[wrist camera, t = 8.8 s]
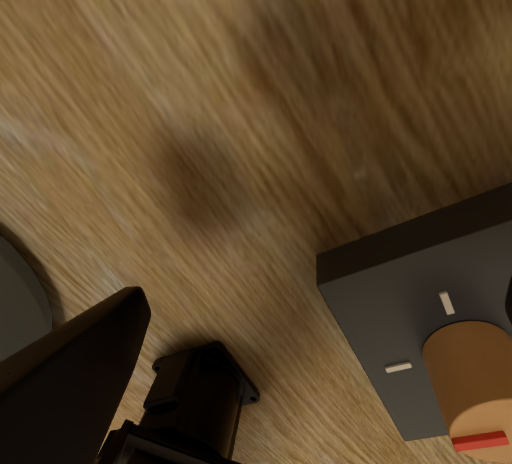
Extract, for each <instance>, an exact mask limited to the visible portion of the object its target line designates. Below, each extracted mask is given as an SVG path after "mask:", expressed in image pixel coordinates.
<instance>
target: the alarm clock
mask: <svg viewBox="0 0 512 464" xmlns="http://www.w3.org/2000/svg"><path fill="white" fill-rule="evenodd" d="M51 331H52V313H51V309H50V306H49V302H48V299H47V295H46V293H45V291H44V289H43V287H42V286H41V284H40V282H39V280H38V279H37V277H36V275H35V273H34V272H33V270H32V268H31V267H30V266H29V265H28V264H27V263H26V261H25V260H24V259H23V258H22V257H21V256H20V254H19V253H18V252H17V251H16V250H15V249H14V247H13V246H12V245H11V244H10V243H9V242H8V241H7V240H5V239H4V238H3V237H2V236H1V235H0V362H1V361H2V360H4V359H6V358H7V357H9V356H11V355H13V354H14V353H16V352H18V351H19V350H21V349H23V348H24V347H26V346H28V345H29V344H31V343H33V342H34V341H36V340H38V339H39V338H41V337H43V336H44V335H46V334H48V333H49V332H51Z"/></svg>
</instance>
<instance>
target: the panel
mask: <svg viewBox="0 0 512 464" xmlns="http://www.w3.org/2000/svg"><path fill="white" fill-rule="evenodd" d="M316 270H317V287H318V289H319V291H320V293H321V294H322V296H323V298H324V300H325V302H326V303H327V305H328V307H329V309H330V310H331V312H332V314H333V316H334V317H335V319H336V321H337V323H338V325H339V326H340V328H341V330H342V332H343V333H344V335H345V337H346V339H347V340H348V342H349V344H350V346H351V348H352V349H353V351H354V353H355V355H356V356H357V358H358V360H359V362H360V364H361V365H362V367H363V369H364V371H365V372H366V374H367V376H368V378H369V379H370V381H371V383H372V385H373V387H374V388H375V390H376V392H377V394H378V395H379V397H380V399H381V401H382V403H383V404H384V406H385V408H386V410H387V411H388V413H389V415H390V417H391V418H392V420H393V422H394V424H395V426H396V427H397V429H398V431H399V433H400V434H401V436H402V438H403V440H404V441H411V440H417V439H424V438H430V437H437V436H444V435H449V434H448V431H447V428H446V425H445V422H444V420H443V417H442V414H441V411H440V408H439V405H438V402H437V399H436V396H435V393H434V391H433V388H432V385H431V382H430V379H429V376H428V373H427V370H426V367H425V364H424V362H423V358H422V350H423V346H424V344H425V342H426V341H427V339H428V338H429V337H430V336H431V335H432V334H433V333H435V332H436V331H437V330H439V329H441V328H443V327H445V326H447V325H450V324H453V323H458V322H464V321H480V322H486V323H490V324H493V325H495V326H497V327H499V328H501V329H502V330H504V331H505V332H506V333H507V334H508V335H509V336H510V338H511V339H512V325H511V323H510V321H509V318H508V316H507V314H506V311H505V298H506V294H507V290H508V285H509V281H510V278H511V276H512V183H510V184H507V185H505V186H502V187H499V188H496V189H494V190H491V191H488V192H486V193H483V194H480V195H478V196H475V197H472V198H470V199H467V200H464V201H461V202H459V203H456V204H453V205H451V206H448V207H445V208H443V209H440V210H437V211H434V212H432V213H429V214H426V215H424V216H421V217H418V218H416V219H413V220H410V221H407V222H405V223H402V224H399V225H397V226H394V227H391V228H389V229H386V230H383V231H381V232H378V233H375V234H372V235H370V236H367V237H364V238H362V239H359V240H356V241H354V242H351V243H348V244H345V245H343V246H340V247H337V248H335V249H332V250H329V251H327V252H324V253H321V254H319V255H316Z"/></svg>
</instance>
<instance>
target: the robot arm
mask: <svg viewBox="0 0 512 464" xmlns="http://www.w3.org/2000/svg"><path fill="white" fill-rule="evenodd" d="M505 311H506V314H507V316H508V318H509V321H510V323H511V325H512V276H511V278H510V281H509V285H508V290H507V294H506V298H505ZM150 318H151V310H150V307H149V304H148V301H147V299H146V296H145V293H144V291H143V289H142V288H141V287H139V286H134V287H125V288H123V289H121V290H120V291H118V292H116V293H115V294H113V295H111V296H110V297H108V298H106V299H105V300H103V301H101V302H100V303H98V304H96V305H95V306H93V307H91V308H90V309H88V310H86V311H85V312H83V313H81V314H80V315H78V316H76V317H74V318H73V319H71V320H69V321H68V322H66V323H64V324H63V325H61V326H59V327H58V328H56V329H54V330H53V331H51V332H49V333H48V334H46V335H44V336H43V337H41V338H39V339H38V340H36V341H34V342H33V343H31V344H29V345H28V346H26V347H24V348H23V349H21V350H19V351H18V352H16V353H14V354H13V355H11V356H9V357H7V358H6V359H4V360H2V361H1V362H0V464H241V463H238V462H236V461H233V460H231V459H232V454H233V449H234V444H235V439H236V434H237V429H238V424H239V419H240V414H241V409H242V406H244V405H248V404H253V403H257V402H258V401H259V399H260V393H259V392H258V390H257V389H256V388H255V387H254V385H253V384H252V383H251V381H250V380H249V379H248V377H247V376H246V375H245V373H244V372H243V371H242V369H241V368H240V367H239V365H238V364H237V363H236V361H235V360H234V359H233V358H232V356H231V355H230V354H229V352H228V351H227V350H226V348H225V347H224V346H223V345H222V344H221V343H219V342H213V343H210V344H207V345H204V346H200V347H197V348H194V349H191V350H187V351H184V352H181V353H178V354H175V355H171V356H168V357H165V358H162V359H159V360H156V361H155V362H154V364H153V366H152V369H153V370H154V371H155V373H156V374H157V376H156V378H155V380H154V382H153V384H152V387H151V389H150V391H149V393H148V395H147V397H146V399H145V401H144V405H143V408H144V409H145V412H144V415H143V417H142V419H141V421H140V423H139V425H136V424H133V423H134V422H132V421H130V420H127V419H126V420H125V421H124V423H123V425H122V427H121V429H118V430H111V431H110V433H109V435H108V437H107V438H106V440H105V442H104V444H103V446H102V448H101V445H102V443H103V441H104V438H105V436H106V434H107V431H108V429H109V427H110V425H111V422H112V420H113V418H114V415H115V413H116V411H117V408H118V406H119V404H120V401H121V399H122V397H123V394H124V392H125V390H126V387H127V385H128V383H129V380H130V378H131V376H132V373H133V371H134V368H135V365H136V362H137V360H138V356H139V353H140V350H141V347H142V344H143V341H144V337H145V334H146V331H147V328H148V325H149V322H150ZM100 448H101V450H100ZM99 450H100V452H99ZM98 452H99V453H98Z"/></svg>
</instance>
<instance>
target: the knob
mask: <svg viewBox="0 0 512 464" xmlns="http://www.w3.org/2000/svg"><path fill="white" fill-rule="evenodd" d="M422 358H423V362H424V364H425V367H426V370H427V373H428V376H429V379H430V382H431V385H432V388H433V391H434V393H435V396H436V399H437V402H438V405H439V408H440V411H441V414H442V417H443V420H444V422H445V425H446V428H447V431H448V434H449V437H450V440H451V441H452V444H453V446H454V448H455V450H456V452H459V451H461V452H463V453H464V454H466V455H468V456H470V457H473V458H475V459H479V460H483V461H488V462H498V463H511V462H512V339H511V338H510V336H509V335H508V334H507V333H506V332H505V331H504V330H502V329H501V328H499V327H497V326H495V325H493V324H490V323H486V322H480V321H464V322H458V323H453V324H450V325H447V326H445V327H443V328H441V329H439V330H437V331H436V332H435V333H433V334H432V335H431V336H430V337H429V338H428V339H427V341H426V342H425V344H424V346H423V350H422Z"/></svg>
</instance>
